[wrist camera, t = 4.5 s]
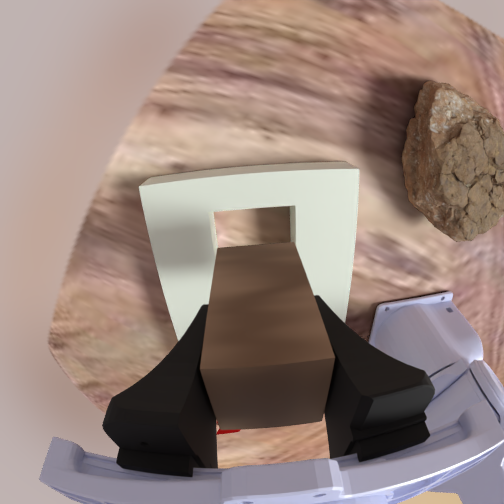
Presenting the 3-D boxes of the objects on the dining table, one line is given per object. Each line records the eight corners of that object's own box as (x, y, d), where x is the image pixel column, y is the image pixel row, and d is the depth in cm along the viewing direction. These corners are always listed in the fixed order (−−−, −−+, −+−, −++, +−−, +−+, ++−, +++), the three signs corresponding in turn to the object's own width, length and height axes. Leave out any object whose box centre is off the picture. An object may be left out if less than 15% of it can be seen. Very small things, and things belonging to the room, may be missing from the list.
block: (294, 241, 15) (335, 357, 8) (294, 303, 17) (321, 421, 10) (217, 248, 15) (199, 369, 8) (226, 308, 17) (220, 429, 10)
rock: (361, 107, 18) (394, 108, 13) (456, 64, 15) (496, 63, 11) (416, 247, 23) (445, 277, 19) (493, 195, 21) (526, 214, 16)
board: (346, 161, 19) (361, 169, 17) (329, 358, 29) (335, 378, 26) (149, 177, 19) (137, 187, 17) (197, 369, 29) (194, 390, 26)
